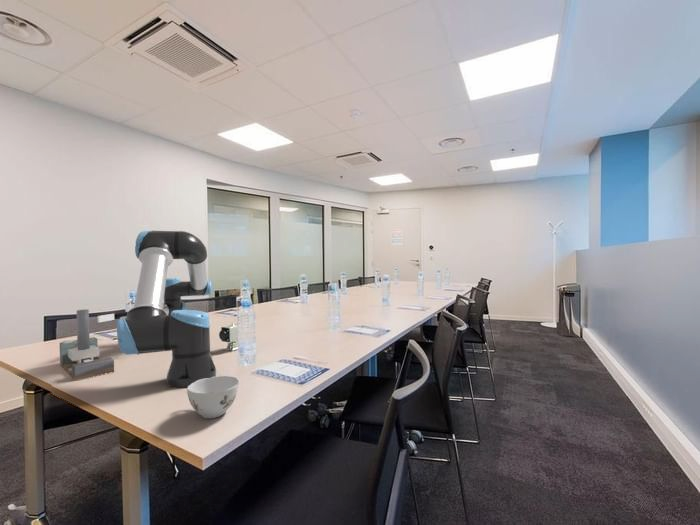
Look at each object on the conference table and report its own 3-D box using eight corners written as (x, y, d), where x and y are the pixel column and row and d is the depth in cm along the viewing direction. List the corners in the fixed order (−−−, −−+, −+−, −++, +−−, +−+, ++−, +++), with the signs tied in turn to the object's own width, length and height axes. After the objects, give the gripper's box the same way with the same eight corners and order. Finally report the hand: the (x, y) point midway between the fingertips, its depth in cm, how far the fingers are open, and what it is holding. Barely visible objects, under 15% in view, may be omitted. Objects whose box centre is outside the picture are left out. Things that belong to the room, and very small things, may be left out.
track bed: (114, 371, 119) (113, 346, 119) (75, 380, 110) (74, 353, 110) (94, 358, 136) (94, 336, 136) (60, 365, 128) (59, 341, 128)
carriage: (99, 360, 126) (98, 309, 126) (72, 365, 120) (71, 312, 120) (94, 356, 131) (92, 307, 131) (68, 361, 125) (66, 310, 125)
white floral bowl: (249, 409, 87) (248, 379, 87) (207, 430, 76) (206, 397, 76) (214, 397, 95) (214, 370, 95) (172, 415, 85) (171, 384, 85)
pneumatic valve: (247, 347, 150) (246, 321, 150) (226, 354, 140) (225, 326, 140) (238, 346, 153) (238, 320, 152) (217, 352, 142) (217, 325, 142)
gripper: (175, 321, 150) (130, 330, 130) (136, 318, 159) (89, 327, 139) (174, 305, 150) (130, 312, 130) (136, 303, 159) (88, 309, 139)
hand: (108, 320), depth 134 cm, fingers open, 13 cm apart
